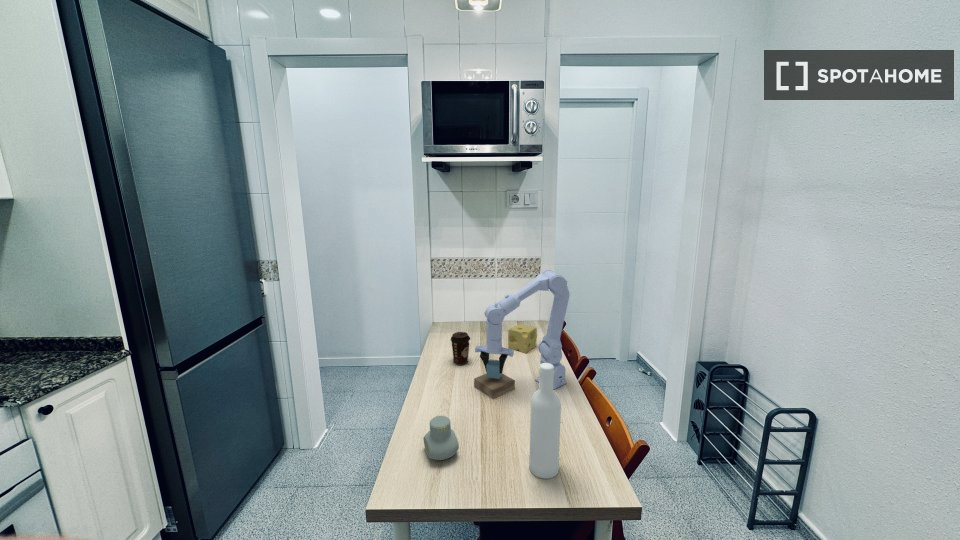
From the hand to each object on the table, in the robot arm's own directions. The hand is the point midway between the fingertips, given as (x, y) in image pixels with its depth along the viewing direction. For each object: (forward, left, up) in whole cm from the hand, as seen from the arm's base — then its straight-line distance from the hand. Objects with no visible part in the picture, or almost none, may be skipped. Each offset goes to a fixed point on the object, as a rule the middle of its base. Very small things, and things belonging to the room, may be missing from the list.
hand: (494, 371), depth 137 cm
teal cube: (0, 0, -2) cm, 2 cm away
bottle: (-40, +17, -7) cm, 44 cm away
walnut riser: (0, 0, -7) cm, 7 cm away
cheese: (+20, -35, -7) cm, 41 cm away
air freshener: (-17, +35, -7) cm, 40 cm away
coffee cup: (+26, -3, -7) cm, 27 cm away
